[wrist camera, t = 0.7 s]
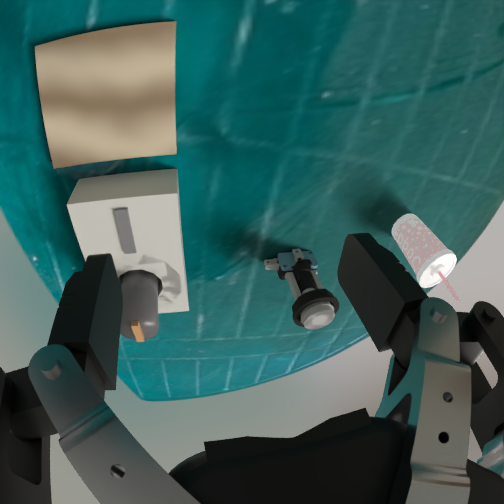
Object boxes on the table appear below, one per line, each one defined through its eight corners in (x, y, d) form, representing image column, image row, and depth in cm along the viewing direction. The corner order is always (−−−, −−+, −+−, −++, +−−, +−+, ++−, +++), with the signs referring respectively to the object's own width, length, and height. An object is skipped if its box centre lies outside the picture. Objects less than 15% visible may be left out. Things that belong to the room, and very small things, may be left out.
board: (39, 45, 16) (34, 46, 16) (176, 21, 19) (175, 21, 18) (57, 163, 25) (53, 168, 24) (176, 149, 27) (176, 154, 26)
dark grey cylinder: (122, 245, 33) (112, 323, 25) (156, 242, 34) (154, 321, 26) (128, 270, 36) (123, 346, 28) (160, 267, 36) (161, 343, 29)
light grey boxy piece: (79, 178, 26) (65, 206, 23) (177, 168, 28) (177, 195, 25) (111, 288, 37) (107, 318, 34) (186, 282, 39) (189, 312, 36)
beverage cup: (399, 206, 37) (460, 284, 27) (428, 211, 39) (485, 282, 29) (379, 241, 41) (429, 320, 31) (408, 243, 43) (456, 315, 33)
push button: (260, 273, 41) (280, 338, 34) (266, 242, 37) (289, 309, 30) (308, 269, 42) (333, 330, 35) (317, 239, 39) (348, 301, 31)
